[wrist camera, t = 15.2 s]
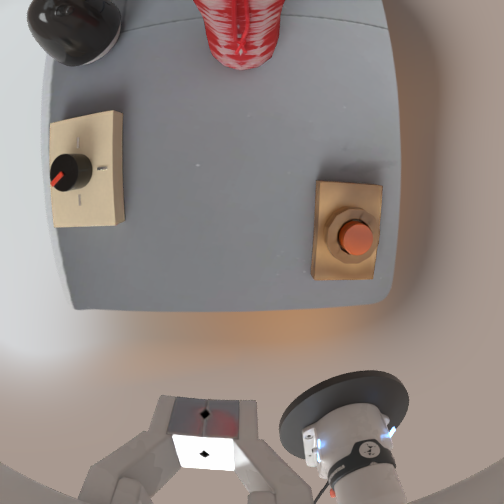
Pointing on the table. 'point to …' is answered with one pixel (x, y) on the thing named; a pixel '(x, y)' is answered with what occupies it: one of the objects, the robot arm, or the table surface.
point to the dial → (70, 172)
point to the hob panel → (103, 165)
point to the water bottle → (241, 30)
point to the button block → (331, 222)
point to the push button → (356, 238)
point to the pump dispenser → (74, 28)
